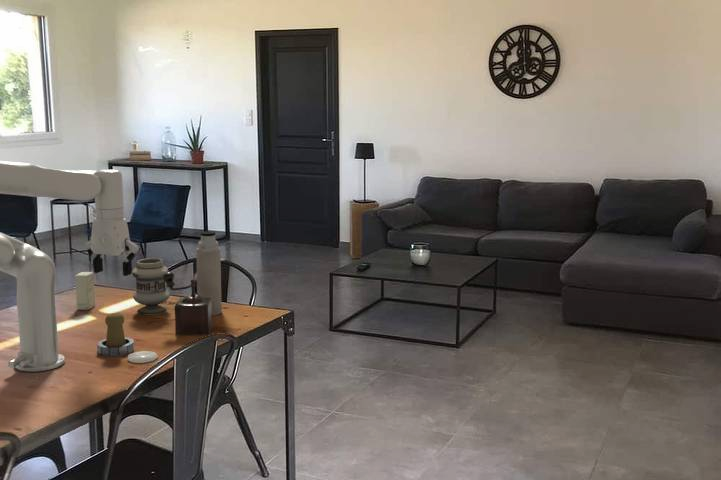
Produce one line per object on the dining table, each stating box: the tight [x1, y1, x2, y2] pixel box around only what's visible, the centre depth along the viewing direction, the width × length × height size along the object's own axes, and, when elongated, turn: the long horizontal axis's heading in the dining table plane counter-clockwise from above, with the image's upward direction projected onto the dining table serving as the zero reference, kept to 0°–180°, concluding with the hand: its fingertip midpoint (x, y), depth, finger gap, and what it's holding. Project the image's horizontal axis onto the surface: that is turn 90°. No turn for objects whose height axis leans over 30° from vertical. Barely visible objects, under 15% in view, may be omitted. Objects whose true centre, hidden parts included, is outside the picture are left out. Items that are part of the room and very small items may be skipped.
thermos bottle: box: [195, 231, 223, 316], centre depth 256 cm, size 8×8×28 cm
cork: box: [104, 312, 126, 347], centre depth 218 cm, size 6×6×11 cm
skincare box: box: [74, 271, 96, 311], centre depth 262 cm, size 6×4×12 cm
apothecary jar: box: [131, 257, 171, 316], centre depth 258 cm, size 12×12×18 cm
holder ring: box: [96, 336, 135, 357], centre depth 218 cm, size 10×10×2 cm
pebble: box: [127, 350, 158, 364], centre depth 212 cm, size 8×8×1 cm
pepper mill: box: [162, 271, 213, 336], centre depth 238 cm, size 16×11×18 cm
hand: (112, 273), depth 215 cm, fingers open, 9 cm apart
